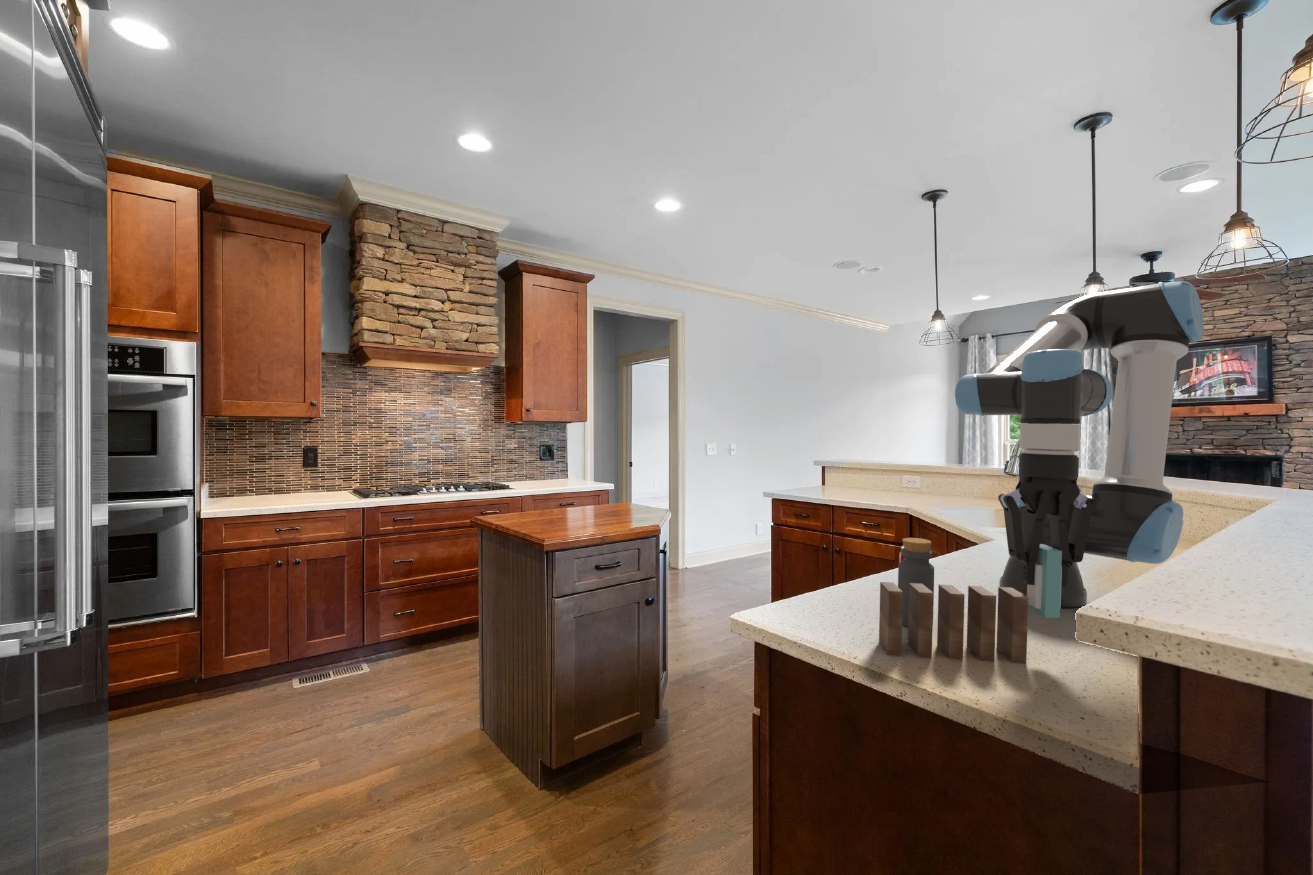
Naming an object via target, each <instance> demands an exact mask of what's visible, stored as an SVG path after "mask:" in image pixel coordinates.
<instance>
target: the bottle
mask: <svg viewBox="0 0 1313 875" xmlns="http://www.w3.org/2000/svg"><path fill="white" fill-rule="evenodd" d="M902 544H903V545H902V546H904V548H900V551H901V555H903V556H904V560H903V561H901V562H900V563H899V562H898V569H897V571H898V572H897V573H898V574H897V578H898V579H897V587H898V588H899V589H900V590H901V591H902V592H903V593H902V627H905V628H908V615H909V583H917V584H923V585H924V586H926V587H927V588H928V589H929V590H930V591H932V592H933V608H934V605H935V604H934V602H935V601H934V598H935V594H934V593H935V567H934V565H933V564H932V563H930V559H932V558H933V551H932V550H931V546H932V541H931V540H929V539H925V538H921V537H920V538H918V537H905V538H902Z"/></svg>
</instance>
